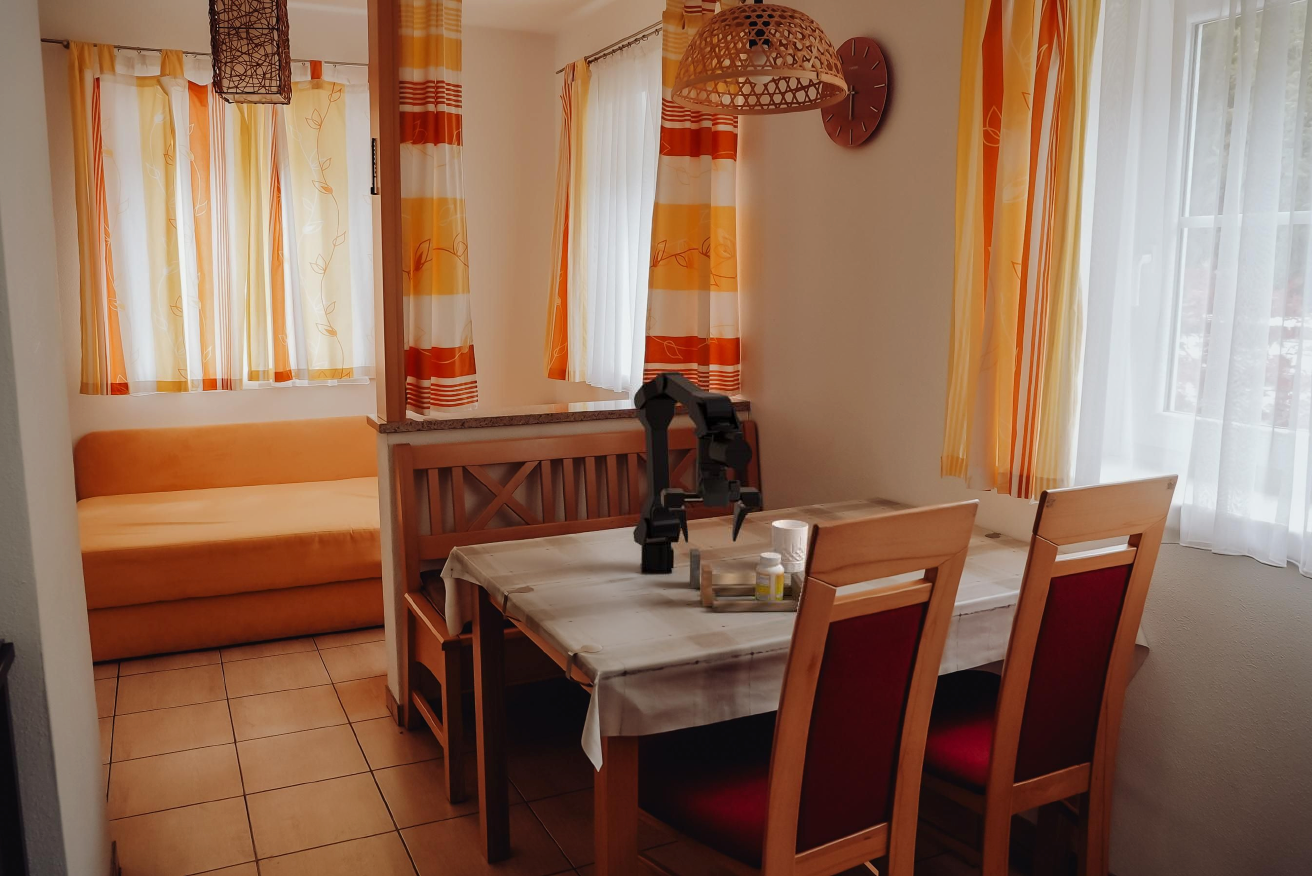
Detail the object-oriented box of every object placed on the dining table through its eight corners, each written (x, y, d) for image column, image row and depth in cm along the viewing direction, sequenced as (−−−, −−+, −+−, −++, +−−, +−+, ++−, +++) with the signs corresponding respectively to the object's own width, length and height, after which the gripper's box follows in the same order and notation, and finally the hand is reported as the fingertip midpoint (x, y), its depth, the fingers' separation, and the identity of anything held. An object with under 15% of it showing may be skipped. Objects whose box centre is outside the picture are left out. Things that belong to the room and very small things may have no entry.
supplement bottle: (758, 607, 187) (759, 559, 186) (752, 598, 192) (753, 551, 191) (785, 606, 188) (787, 558, 186) (779, 598, 193) (780, 551, 192)
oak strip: (692, 589, 197) (693, 556, 196) (689, 579, 204) (689, 547, 203) (788, 588, 198) (789, 555, 197) (782, 578, 205) (783, 546, 204)
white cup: (805, 575, 209) (807, 529, 207) (768, 572, 210) (770, 527, 209) (807, 565, 216) (809, 520, 215) (772, 562, 218) (773, 519, 216)
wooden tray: (705, 611, 184) (705, 575, 183) (698, 593, 195) (699, 559, 193) (808, 610, 185) (809, 574, 184) (796, 592, 196) (797, 558, 195)
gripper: (667, 469, 177) (666, 553, 179) (768, 468, 179) (766, 551, 181) (661, 459, 188) (660, 538, 190) (756, 458, 190) (755, 536, 192)
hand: (710, 541), depth 188 cm, fingers open, 9 cm apart
